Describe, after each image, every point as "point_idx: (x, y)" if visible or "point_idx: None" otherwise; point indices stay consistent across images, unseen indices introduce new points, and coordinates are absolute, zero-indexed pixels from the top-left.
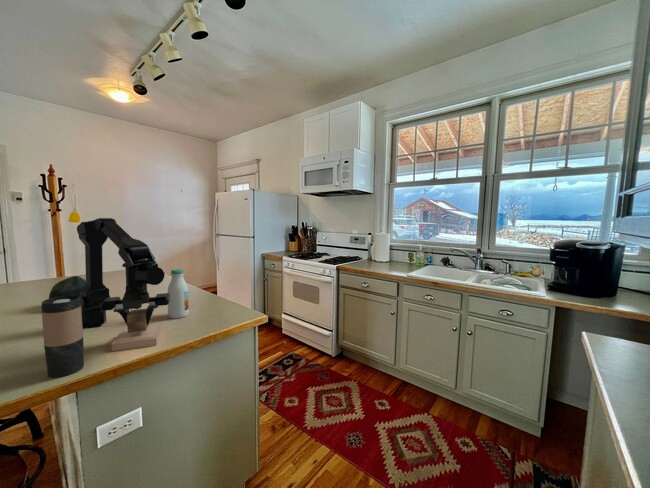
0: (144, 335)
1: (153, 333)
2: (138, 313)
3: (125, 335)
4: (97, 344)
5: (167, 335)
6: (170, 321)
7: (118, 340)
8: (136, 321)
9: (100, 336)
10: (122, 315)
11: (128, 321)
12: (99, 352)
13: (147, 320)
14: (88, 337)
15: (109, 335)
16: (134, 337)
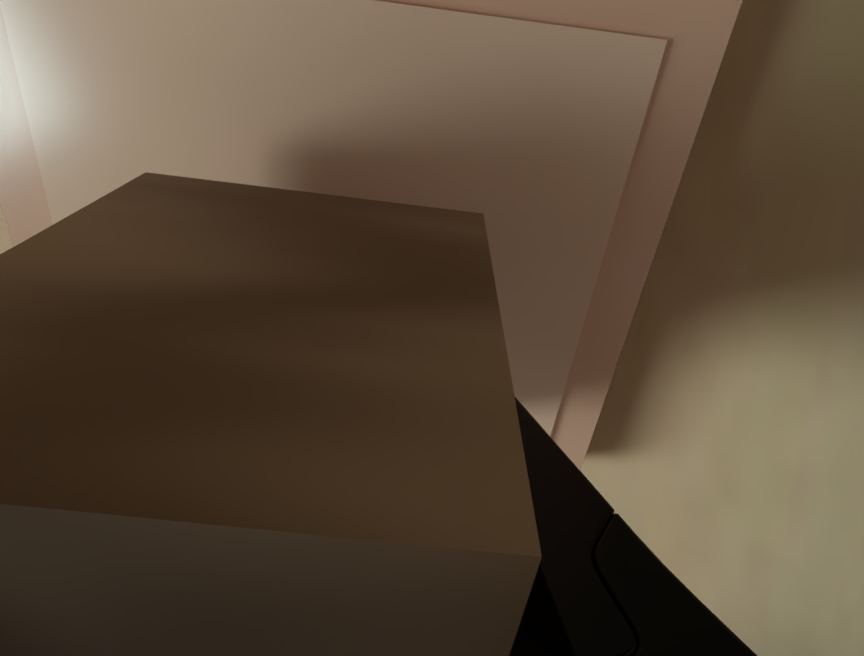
0: (200, 120)
1: (55, 144)
2: (24, 570)
3: (520, 272)
4: (811, 342)
5: (2, 247)
6: None
7: (631, 77)
8: (237, 303)
9: (749, 525)
10: (703, 634)
11: (470, 344)
12: (843, 46)
13: None
14: (848, 545)
15: (670, 516)
16: (365, 101)
